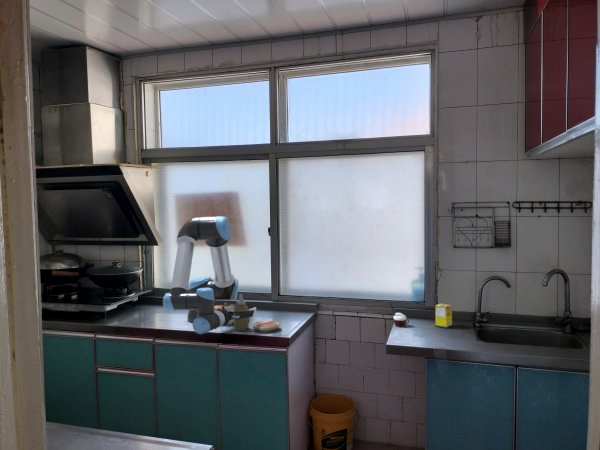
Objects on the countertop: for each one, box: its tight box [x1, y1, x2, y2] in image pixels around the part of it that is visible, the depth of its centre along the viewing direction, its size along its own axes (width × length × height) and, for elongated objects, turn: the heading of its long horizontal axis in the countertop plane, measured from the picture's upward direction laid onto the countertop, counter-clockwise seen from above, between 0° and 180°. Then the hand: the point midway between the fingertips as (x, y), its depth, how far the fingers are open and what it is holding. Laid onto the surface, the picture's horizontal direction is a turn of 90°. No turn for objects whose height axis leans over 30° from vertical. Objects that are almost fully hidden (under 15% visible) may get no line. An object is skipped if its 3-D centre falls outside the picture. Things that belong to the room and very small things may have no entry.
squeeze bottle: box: [232, 293, 250, 332], centre depth 228 cm, size 8×8×18 cm
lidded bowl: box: [214, 301, 236, 326], centre depth 242 cm, size 13×13×11 cm
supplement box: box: [434, 303, 453, 329], centre depth 227 cm, size 6×6×11 cm
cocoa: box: [389, 302, 410, 328], centre depth 230 cm, size 10×6×12 cm, turn 68°
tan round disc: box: [252, 320, 280, 333], centre depth 227 cm, size 13×13×3 cm
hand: (244, 308), depth 230 cm, fingers open, 13 cm apart
